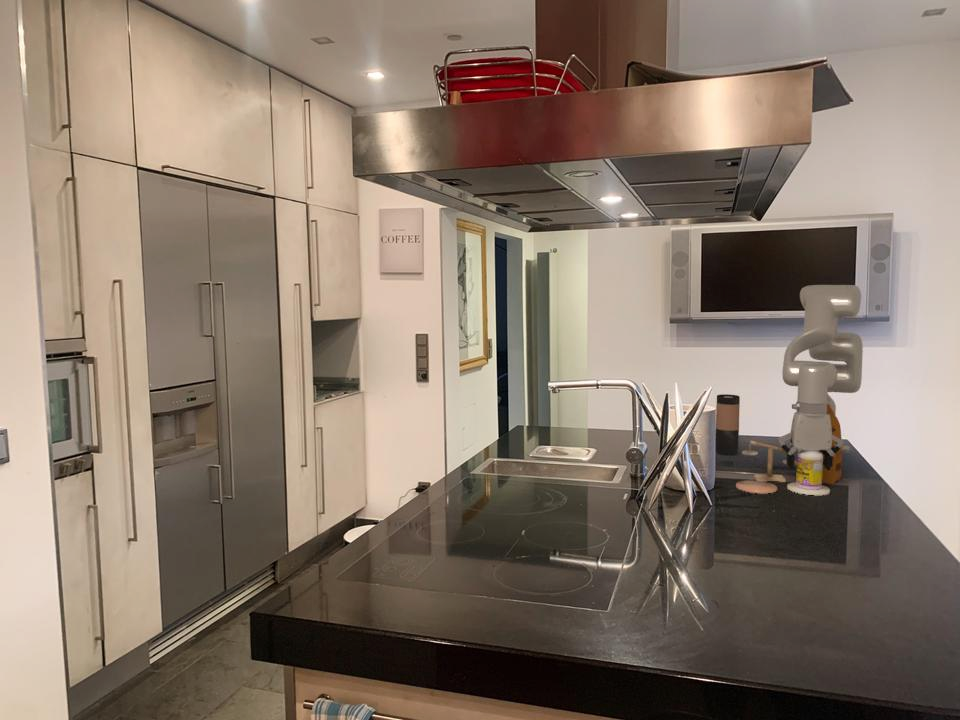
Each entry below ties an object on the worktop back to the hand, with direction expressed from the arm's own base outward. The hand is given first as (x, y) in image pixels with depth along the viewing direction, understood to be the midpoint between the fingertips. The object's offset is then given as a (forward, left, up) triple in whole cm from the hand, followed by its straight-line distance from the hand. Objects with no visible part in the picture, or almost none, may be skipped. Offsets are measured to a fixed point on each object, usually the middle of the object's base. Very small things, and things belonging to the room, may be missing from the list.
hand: (809, 468), depth 200 cm
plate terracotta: (+14, 0, -6) cm, 15 cm away
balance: (+8, -10, -6) cm, 14 cm away
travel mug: (+14, -44, -6) cm, 47 cm away
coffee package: (-8, -13, -6) cm, 17 cm away
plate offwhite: (0, 0, -6) cm, 6 cm away
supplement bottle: (0, 0, -6) cm, 6 cm away
